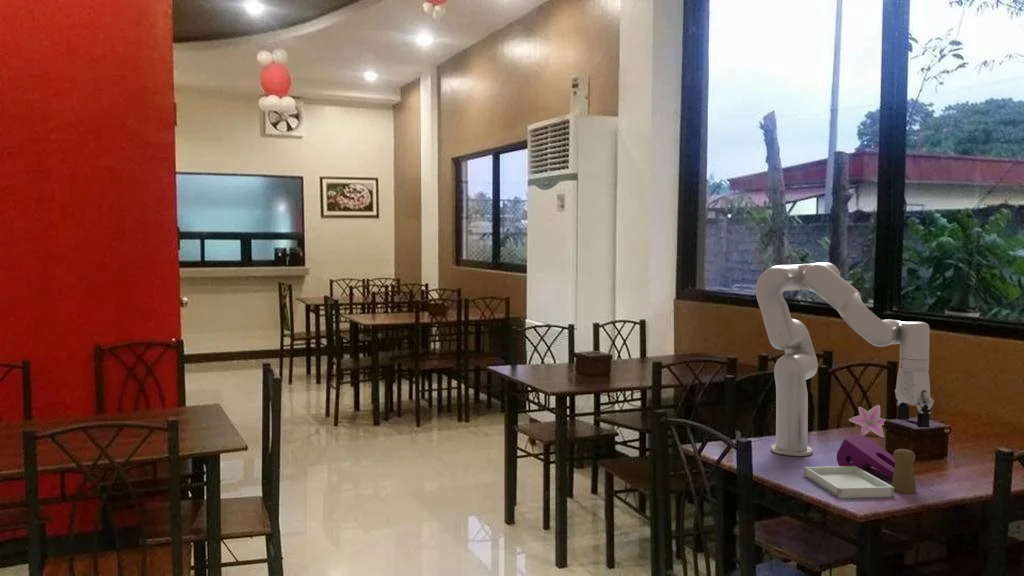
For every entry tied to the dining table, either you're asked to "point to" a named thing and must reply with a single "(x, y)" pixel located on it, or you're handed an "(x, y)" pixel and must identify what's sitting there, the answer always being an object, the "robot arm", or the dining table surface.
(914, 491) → the cork
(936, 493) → the dining table surface
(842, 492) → the tray
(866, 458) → the mounting bracket
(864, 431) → the lily
